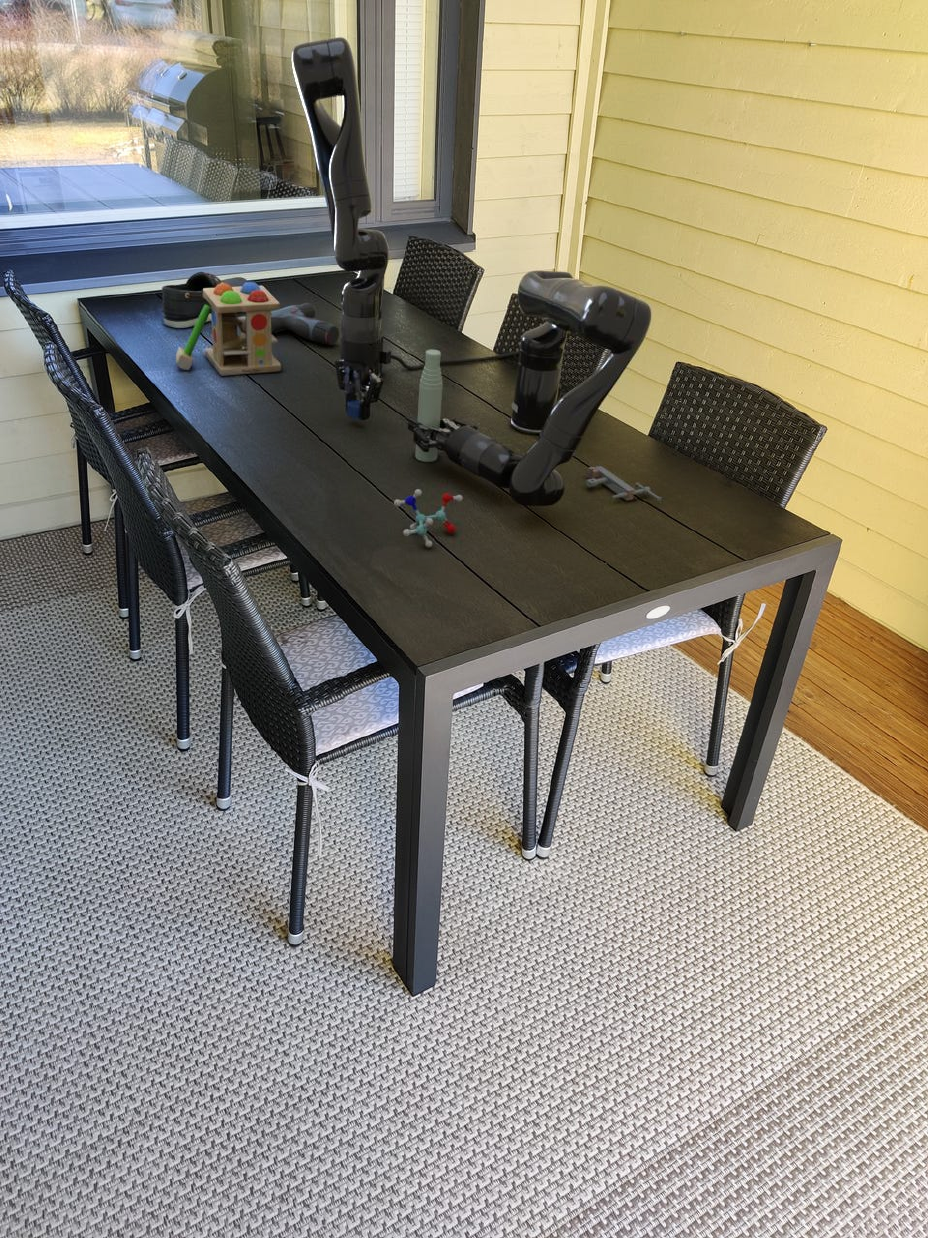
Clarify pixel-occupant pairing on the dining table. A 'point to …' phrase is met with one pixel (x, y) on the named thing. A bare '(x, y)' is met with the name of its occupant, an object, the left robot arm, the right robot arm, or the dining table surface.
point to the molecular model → (428, 519)
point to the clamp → (598, 478)
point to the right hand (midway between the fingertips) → (419, 420)
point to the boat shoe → (191, 298)
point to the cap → (353, 409)
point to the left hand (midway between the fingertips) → (357, 415)
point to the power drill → (304, 324)
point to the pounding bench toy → (229, 347)
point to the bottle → (430, 400)
